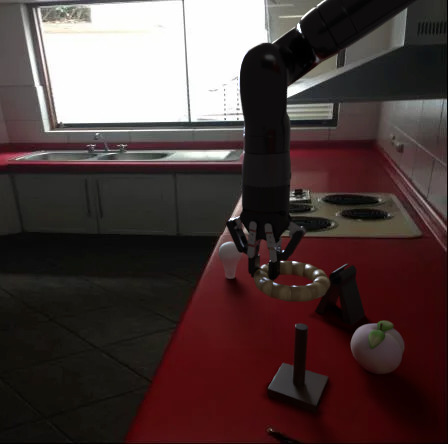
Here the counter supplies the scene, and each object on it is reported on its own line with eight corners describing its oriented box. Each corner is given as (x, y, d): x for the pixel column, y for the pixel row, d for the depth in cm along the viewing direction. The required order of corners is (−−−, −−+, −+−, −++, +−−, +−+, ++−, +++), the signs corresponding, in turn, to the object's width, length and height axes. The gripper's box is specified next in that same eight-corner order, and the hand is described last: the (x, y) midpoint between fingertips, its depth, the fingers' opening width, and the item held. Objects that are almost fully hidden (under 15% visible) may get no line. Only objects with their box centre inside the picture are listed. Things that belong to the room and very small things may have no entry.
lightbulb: (217, 284, 111) (216, 246, 107) (220, 274, 116) (220, 237, 113) (240, 286, 109) (240, 247, 106) (243, 276, 115) (243, 239, 111)
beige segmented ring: (336, 279, 71) (337, 266, 70) (317, 311, 61) (318, 297, 61) (268, 266, 77) (269, 254, 76) (242, 293, 68) (243, 280, 67)
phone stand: (313, 315, 94) (316, 266, 90) (327, 305, 97) (330, 258, 94) (352, 331, 87) (357, 279, 83) (366, 320, 91) (371, 270, 87)
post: (328, 383, 73) (333, 321, 69) (315, 413, 66) (320, 346, 63) (282, 369, 77) (285, 309, 73) (267, 395, 71) (269, 332, 67)
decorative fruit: (354, 350, 81) (359, 305, 78) (402, 364, 76) (409, 316, 73) (343, 378, 74) (347, 329, 71) (395, 395, 69) (402, 343, 66)
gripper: (215, 181, 67) (217, 278, 73) (303, 188, 60) (297, 296, 65) (235, 172, 73) (235, 262, 78) (317, 177, 65) (311, 277, 71)
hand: (263, 277), depth 72 cm, fingers closed on beige segmented ring, 2 cm apart
